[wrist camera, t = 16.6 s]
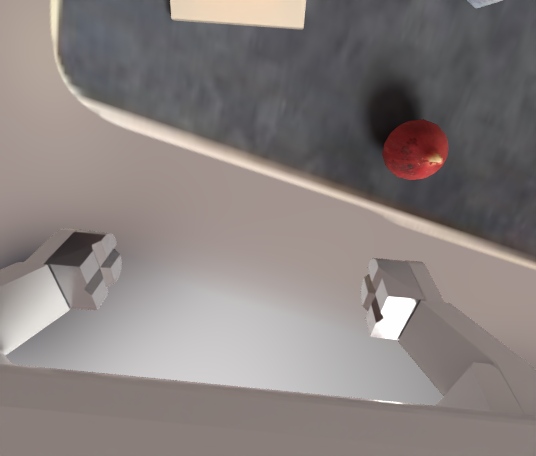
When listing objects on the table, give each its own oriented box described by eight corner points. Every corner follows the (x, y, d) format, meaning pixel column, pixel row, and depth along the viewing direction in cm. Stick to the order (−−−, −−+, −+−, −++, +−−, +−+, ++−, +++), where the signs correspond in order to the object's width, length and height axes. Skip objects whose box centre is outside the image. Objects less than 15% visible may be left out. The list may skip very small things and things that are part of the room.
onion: (381, 177, 36) (412, 202, 28) (365, 131, 33) (395, 147, 26) (430, 154, 35) (475, 174, 27) (418, 105, 32) (463, 114, 25)
